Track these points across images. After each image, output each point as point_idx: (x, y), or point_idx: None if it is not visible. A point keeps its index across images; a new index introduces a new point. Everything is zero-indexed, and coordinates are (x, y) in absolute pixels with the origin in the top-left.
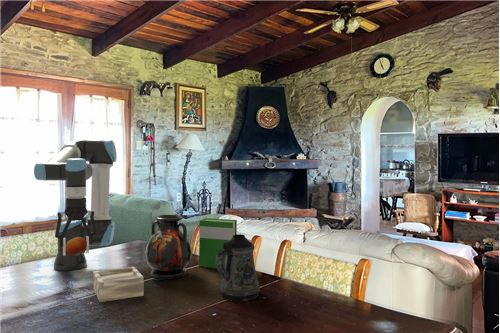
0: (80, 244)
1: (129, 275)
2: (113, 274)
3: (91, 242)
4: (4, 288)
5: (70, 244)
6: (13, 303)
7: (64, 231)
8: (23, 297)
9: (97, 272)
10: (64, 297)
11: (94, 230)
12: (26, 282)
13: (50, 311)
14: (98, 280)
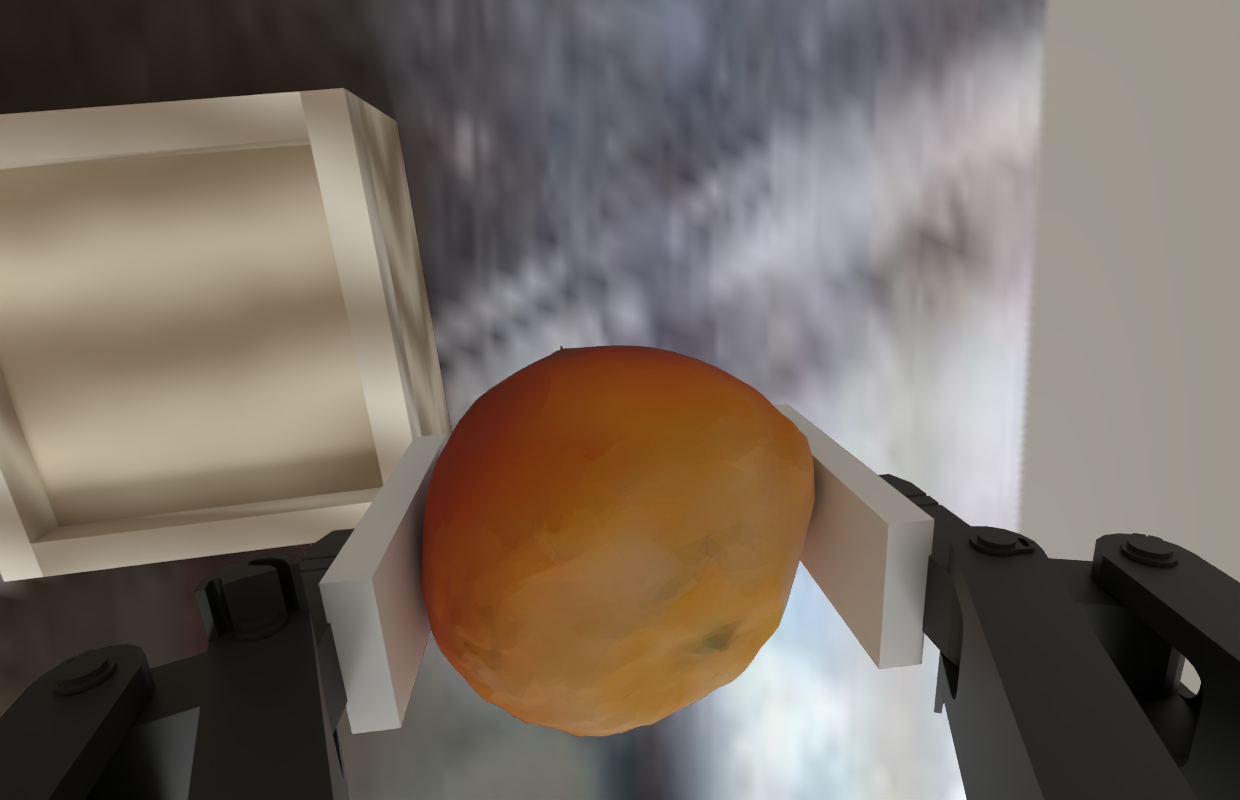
0: (537, 391)
1: (65, 392)
2: (241, 472)
3: (313, 552)
4: None
5: (744, 399)
6: (978, 334)
7: (1058, 655)
8: (916, 434)
9: None
10: (662, 341)
11: (17, 756)
12: (888, 718)
13: (759, 59)
14: (363, 198)
